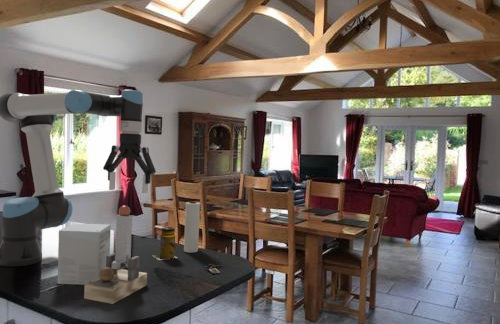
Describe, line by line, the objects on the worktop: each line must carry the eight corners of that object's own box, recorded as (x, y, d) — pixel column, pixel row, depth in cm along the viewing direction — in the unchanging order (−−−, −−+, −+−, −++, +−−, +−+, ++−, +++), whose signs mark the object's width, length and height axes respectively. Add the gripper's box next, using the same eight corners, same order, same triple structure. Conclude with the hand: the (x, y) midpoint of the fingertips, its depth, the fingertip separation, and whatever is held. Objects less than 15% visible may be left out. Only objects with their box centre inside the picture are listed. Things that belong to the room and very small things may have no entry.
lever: (117, 263, 137) (119, 204, 137) (134, 266, 135) (136, 205, 135) (107, 268, 132) (109, 206, 132) (124, 270, 130) (126, 207, 130)
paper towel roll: (186, 253, 181) (188, 203, 180) (181, 250, 187) (183, 201, 186) (202, 252, 185) (204, 203, 184) (197, 248, 190) (199, 201, 189)
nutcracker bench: (120, 280, 143) (121, 249, 142) (146, 285, 140) (147, 253, 139) (84, 298, 126) (85, 263, 125) (112, 303, 123) (114, 267, 122)
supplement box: (110, 273, 150) (111, 224, 150) (98, 285, 137) (99, 231, 137) (72, 271, 150) (73, 222, 149) (56, 284, 137) (57, 230, 136)
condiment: (178, 258, 174) (179, 229, 173) (158, 260, 169) (159, 230, 168) (171, 254, 180) (172, 225, 179) (151, 256, 175) (152, 227, 175)
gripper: (94, 131, 155) (92, 189, 156) (156, 134, 148) (154, 195, 149) (107, 132, 162) (104, 187, 163) (166, 135, 155) (164, 192, 156)
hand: (128, 191), depth 156 cm, fingers open, 13 cm apart
